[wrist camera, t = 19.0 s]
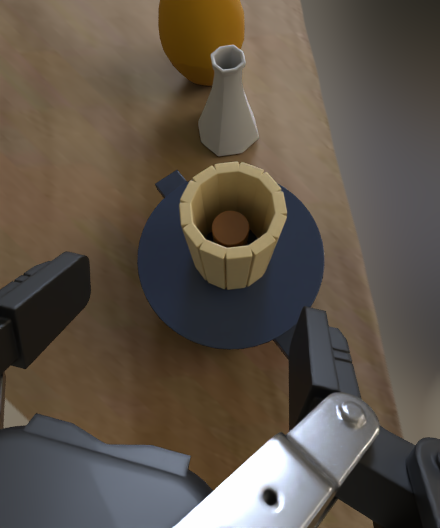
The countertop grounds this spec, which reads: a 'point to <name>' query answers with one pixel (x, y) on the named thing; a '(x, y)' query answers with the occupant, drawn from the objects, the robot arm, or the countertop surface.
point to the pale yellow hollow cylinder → (232, 199)
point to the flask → (227, 106)
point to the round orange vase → (199, 34)
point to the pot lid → (222, 300)
